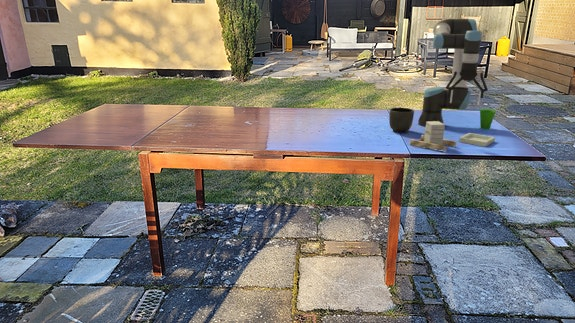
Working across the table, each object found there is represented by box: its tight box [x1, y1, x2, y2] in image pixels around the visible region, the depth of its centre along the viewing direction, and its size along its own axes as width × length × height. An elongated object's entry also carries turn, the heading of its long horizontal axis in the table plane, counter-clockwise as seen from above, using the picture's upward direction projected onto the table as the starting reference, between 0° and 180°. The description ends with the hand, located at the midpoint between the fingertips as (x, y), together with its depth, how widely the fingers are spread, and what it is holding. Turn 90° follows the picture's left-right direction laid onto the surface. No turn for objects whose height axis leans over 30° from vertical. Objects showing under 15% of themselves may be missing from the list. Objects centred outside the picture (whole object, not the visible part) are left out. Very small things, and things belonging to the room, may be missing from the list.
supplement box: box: [423, 121, 446, 145], centre depth 222 cm, size 7×7×13 cm
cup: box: [479, 108, 497, 131], centre depth 258 cm, size 9×9×11 cm
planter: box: [388, 107, 415, 134], centre depth 252 cm, size 14×14×13 cm
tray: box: [458, 132, 496, 148], centre depth 232 cm, size 14×14×2 cm
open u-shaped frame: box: [409, 134, 457, 152], centre depth 224 cm, size 19×14×3 cm
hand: (464, 103), depth 223 cm, fingers open, 13 cm apart
